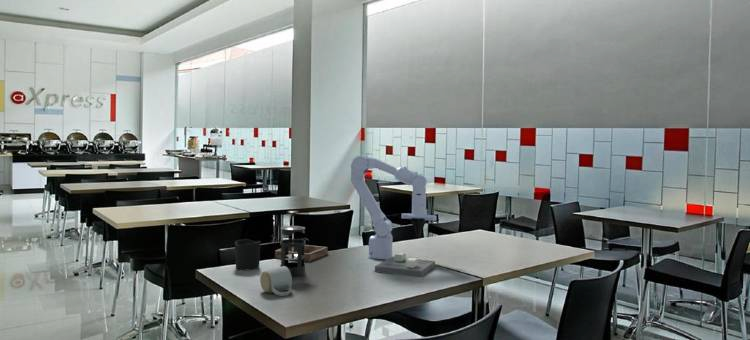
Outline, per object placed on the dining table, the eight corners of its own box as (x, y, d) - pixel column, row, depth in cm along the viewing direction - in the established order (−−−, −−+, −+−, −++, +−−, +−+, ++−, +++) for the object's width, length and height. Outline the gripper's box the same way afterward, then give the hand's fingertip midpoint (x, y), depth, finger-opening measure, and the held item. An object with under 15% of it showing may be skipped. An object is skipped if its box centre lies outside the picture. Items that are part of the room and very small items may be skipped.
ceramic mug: (258, 290, 179) (258, 267, 179) (281, 286, 185) (281, 263, 184) (274, 298, 171) (274, 274, 171) (297, 294, 176) (297, 270, 176)
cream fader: (405, 266, 205) (405, 260, 205) (409, 264, 210) (409, 257, 209) (413, 267, 204) (413, 261, 204) (417, 265, 208) (417, 258, 208)
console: (374, 271, 207) (374, 266, 207) (391, 261, 224) (391, 256, 224) (421, 276, 200) (421, 271, 200) (435, 266, 217) (435, 261, 217)
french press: (311, 274, 201) (312, 211, 200) (289, 278, 195) (290, 213, 193) (293, 268, 210) (294, 208, 208) (272, 272, 204) (272, 210, 202)
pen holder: (258, 264, 217) (258, 238, 216) (261, 269, 208) (261, 243, 207) (233, 265, 214) (233, 239, 213) (235, 271, 205) (235, 244, 204)
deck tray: (275, 257, 228) (275, 250, 228) (295, 250, 243) (295, 243, 243) (309, 261, 222) (309, 254, 222) (327, 254, 237) (327, 247, 237)
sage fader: (394, 260, 216) (394, 254, 215) (398, 258, 220) (398, 252, 220) (401, 261, 214) (401, 255, 214) (405, 259, 219) (405, 252, 218)
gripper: (398, 204, 227) (398, 237, 228) (432, 206, 221) (432, 240, 222) (405, 202, 234) (404, 234, 234) (438, 204, 228) (437, 237, 229)
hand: (418, 237), depth 229 cm, fingers closed
